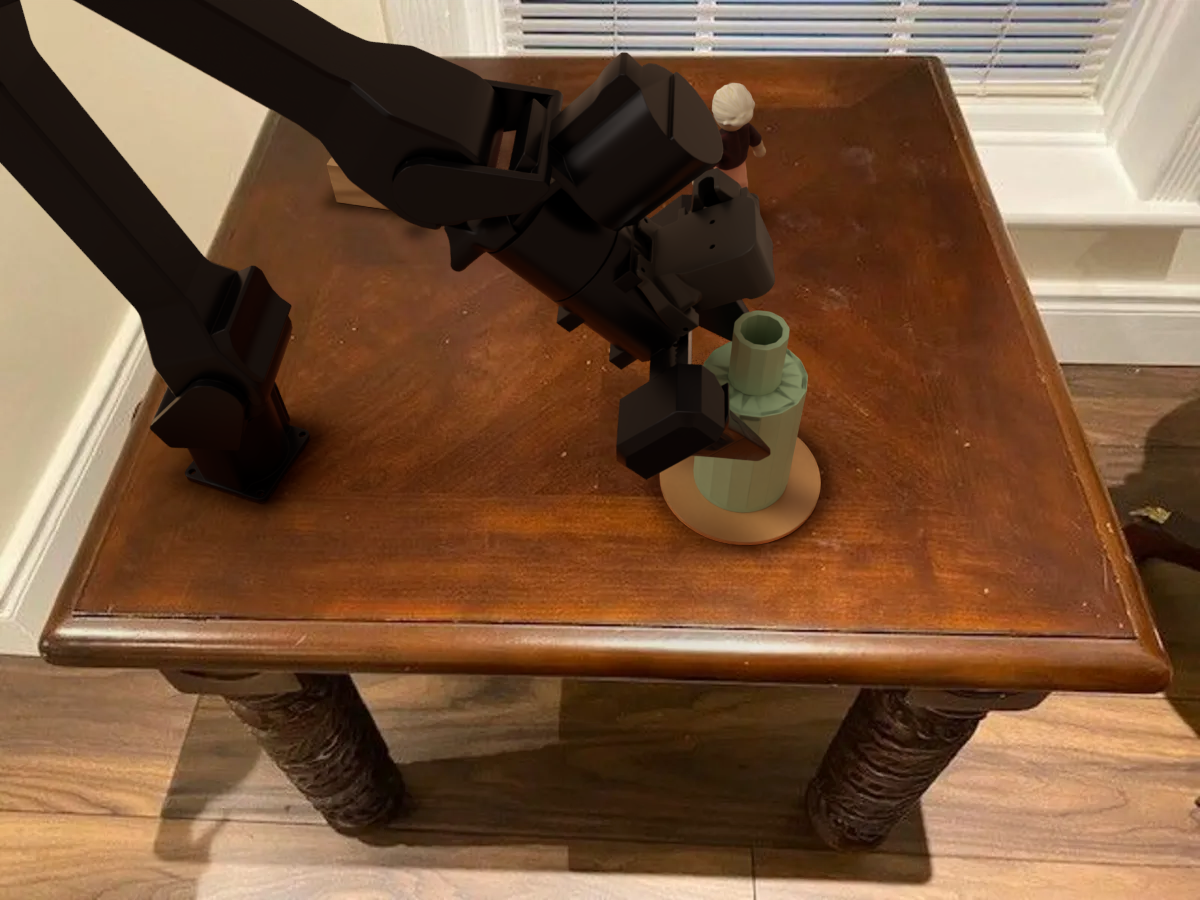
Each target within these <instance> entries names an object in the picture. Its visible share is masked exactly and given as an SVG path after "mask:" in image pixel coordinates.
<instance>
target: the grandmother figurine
mask: <svg viewBox="0 0 1200 900" xmlns="http://www.w3.org/2000/svg"><path fill="white" fill-rule="evenodd" d="M755 106H756V102H755V101H754V99H753V96H752V94H751V92H750V91H749V90H748V89H747V87H746V86H745V85H744V84H741V83H739V82H729V83H728V84H724V85H723V86H721V87H720V88H719V89H716V91H715V92H714V95H713V98H712V105H711V113H713V114H712V116H713V118H714V120H715V122H716V124H717V126H719V127H720V129H719V132H720V135H721V139H722V143H723V154H722V158H721V160H720V161H719V162H718V163H716V164H715V165H714V166H712V167H711V168H710V169H708V170H711V169H714V168H718V169H720V170H721V171H722V172H724V173H725V174H727V175H728V176H729V177H731V178H732V179H734V180H735V181H736V182H738V183H739V184H740V186H741V187H742V188H744V187H747V188H748V189H749V180H748V172H747V164H746V163H747V162H746V160H747V158H748V153H749V149H750V148H751V149H752V152H753V156H755V158H758V159H761V158H764V157H765V156H766V153H767V149H766V147H765V145H764V142H763V137H762V134H760V132H759V131H758V129H756V127H755V126H754V125H753V124H752V123H750V121H752V118H753V116H754V109H755ZM708 170H707V171H708ZM691 184H692V186H693V181H692V182H691Z"/></svg>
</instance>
